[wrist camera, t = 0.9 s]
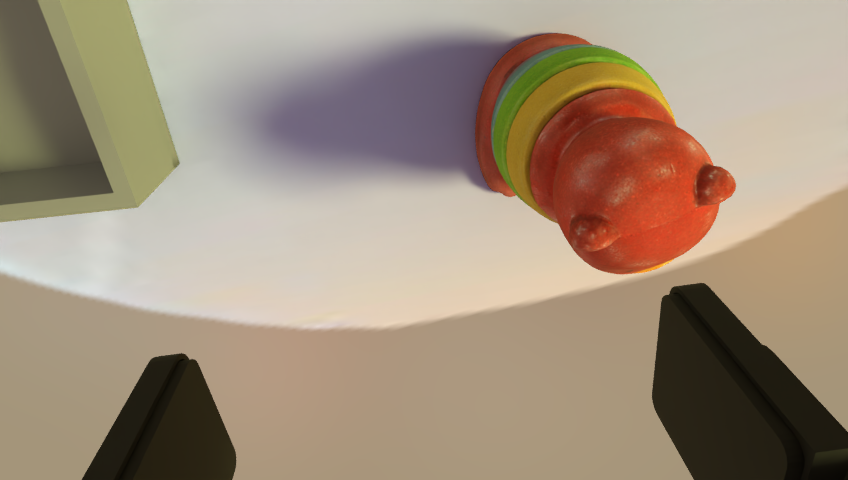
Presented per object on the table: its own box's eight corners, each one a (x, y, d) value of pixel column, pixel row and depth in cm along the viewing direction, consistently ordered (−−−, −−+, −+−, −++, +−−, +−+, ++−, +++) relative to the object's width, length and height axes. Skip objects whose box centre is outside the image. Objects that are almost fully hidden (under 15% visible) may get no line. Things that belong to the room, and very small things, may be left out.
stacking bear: (489, 199, 40) (554, 366, 24) (448, 62, 35) (496, 158, 19) (637, 151, 39) (806, 294, 23) (615, 3, 34) (810, 55, 18)
